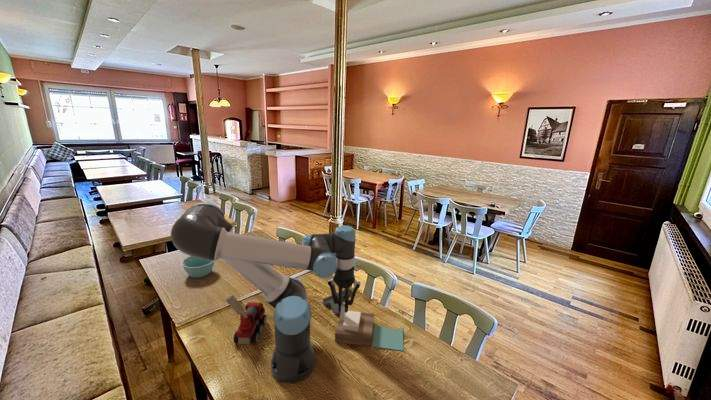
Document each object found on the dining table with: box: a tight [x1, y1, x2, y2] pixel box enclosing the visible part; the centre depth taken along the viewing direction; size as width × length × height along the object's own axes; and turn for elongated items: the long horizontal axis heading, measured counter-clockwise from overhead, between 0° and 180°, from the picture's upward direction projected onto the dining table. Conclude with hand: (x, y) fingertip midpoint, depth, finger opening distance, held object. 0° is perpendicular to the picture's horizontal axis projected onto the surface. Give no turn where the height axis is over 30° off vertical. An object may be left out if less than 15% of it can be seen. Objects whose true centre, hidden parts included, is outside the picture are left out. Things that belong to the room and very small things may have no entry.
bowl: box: [181, 255, 216, 279], centre depth 153 cm, size 16×16×8 cm
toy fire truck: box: [225, 294, 268, 345], centre depth 111 cm, size 11×16×18 cm
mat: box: [371, 324, 405, 352], centre depth 114 cm, size 12×12×1 cm
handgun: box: [321, 288, 353, 317], centre depth 135 cm, size 3×18×12 cm
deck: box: [334, 312, 375, 348], centre depth 116 cm, size 14×14×4 cm
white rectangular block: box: [343, 310, 362, 331], centre depth 115 cm, size 9×6×2 cm, turn 173°
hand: (343, 318), depth 116 cm, fingers closed
